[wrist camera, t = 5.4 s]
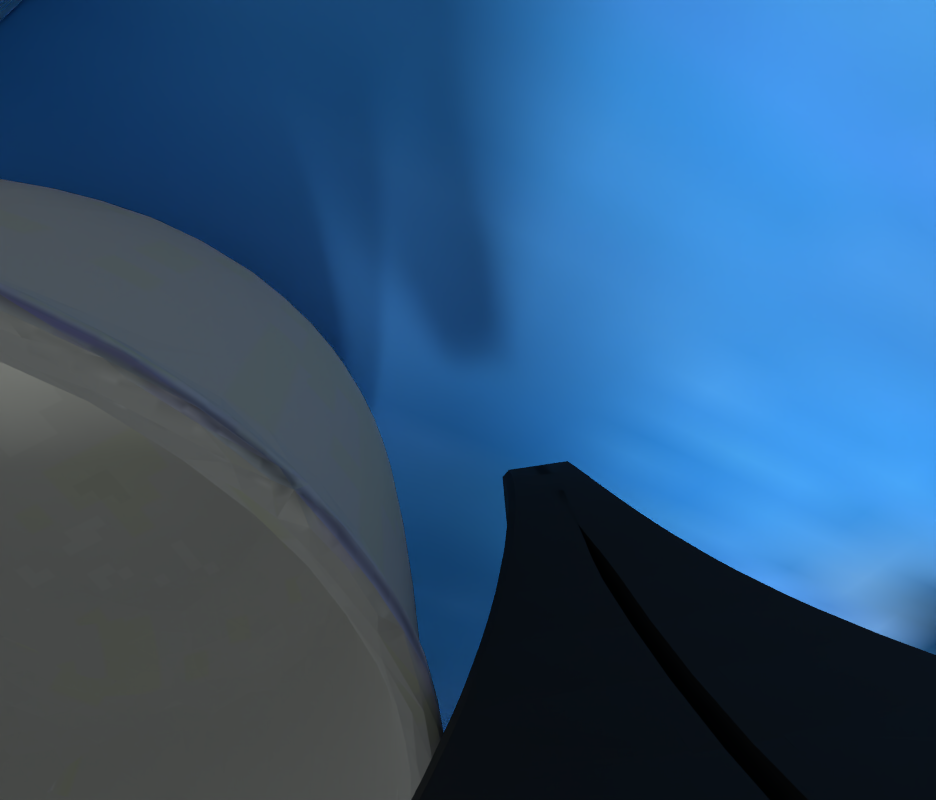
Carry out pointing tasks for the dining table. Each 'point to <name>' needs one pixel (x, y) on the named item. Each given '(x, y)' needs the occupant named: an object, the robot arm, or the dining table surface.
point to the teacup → (190, 531)
